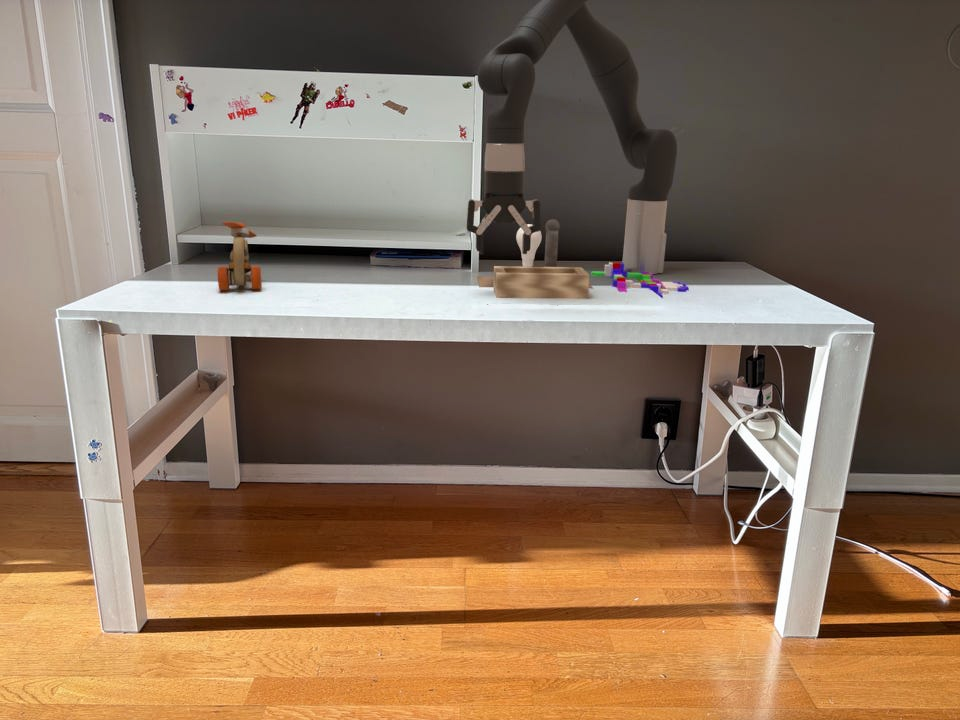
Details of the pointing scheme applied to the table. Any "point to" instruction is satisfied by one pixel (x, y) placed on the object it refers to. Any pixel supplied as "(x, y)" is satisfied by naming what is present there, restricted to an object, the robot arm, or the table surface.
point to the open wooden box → (541, 282)
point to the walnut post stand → (550, 252)
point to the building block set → (644, 277)
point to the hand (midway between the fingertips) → (502, 253)
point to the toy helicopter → (239, 261)
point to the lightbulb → (535, 241)
